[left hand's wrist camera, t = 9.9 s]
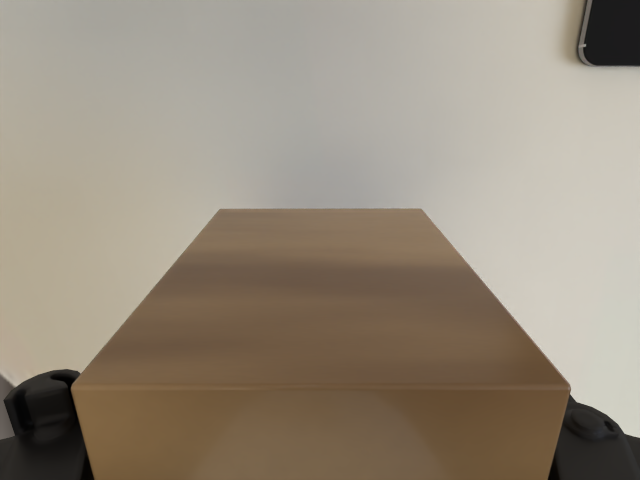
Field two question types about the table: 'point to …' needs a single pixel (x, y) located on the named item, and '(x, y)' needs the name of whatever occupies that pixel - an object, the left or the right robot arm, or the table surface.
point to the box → (320, 361)
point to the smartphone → (611, 33)
